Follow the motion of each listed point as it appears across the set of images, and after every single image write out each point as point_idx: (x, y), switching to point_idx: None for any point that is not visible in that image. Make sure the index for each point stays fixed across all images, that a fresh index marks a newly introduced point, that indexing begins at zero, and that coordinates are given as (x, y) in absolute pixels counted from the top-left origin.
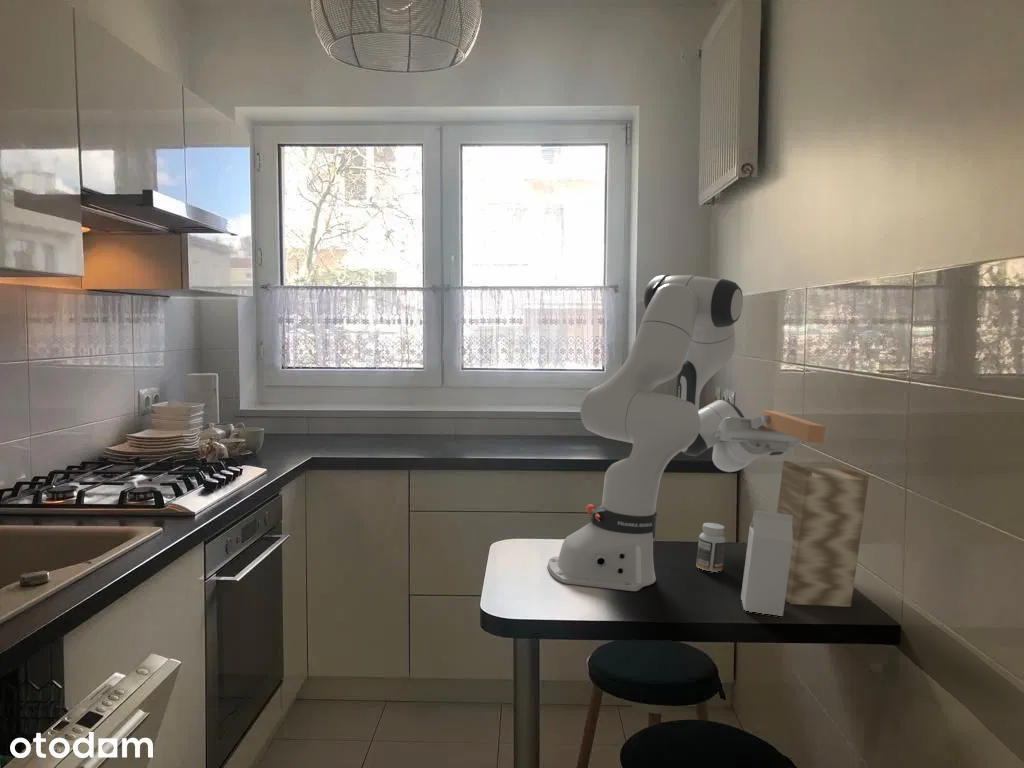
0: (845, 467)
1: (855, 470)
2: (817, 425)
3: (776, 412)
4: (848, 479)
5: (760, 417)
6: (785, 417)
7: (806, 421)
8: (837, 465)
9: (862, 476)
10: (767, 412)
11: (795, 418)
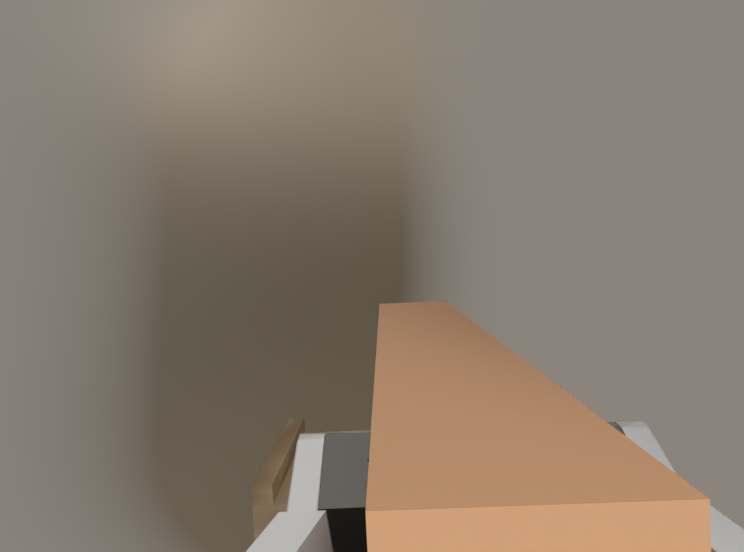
0: (280, 460)
1: (279, 442)
2: (410, 303)
3: (452, 416)
4: (352, 432)
5: None
6: (482, 330)
7: (403, 316)
8: (272, 487)
9: (302, 427)
10: (589, 418)
11: (420, 329)
